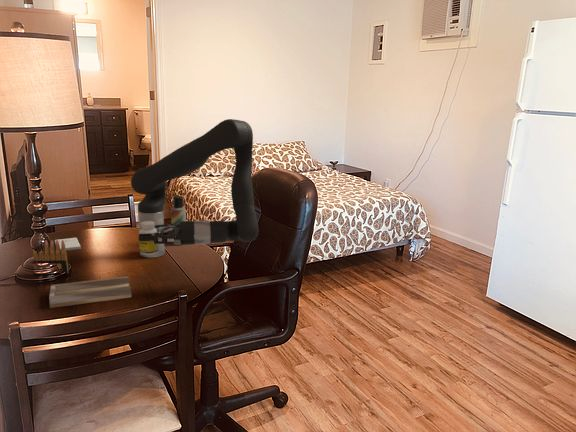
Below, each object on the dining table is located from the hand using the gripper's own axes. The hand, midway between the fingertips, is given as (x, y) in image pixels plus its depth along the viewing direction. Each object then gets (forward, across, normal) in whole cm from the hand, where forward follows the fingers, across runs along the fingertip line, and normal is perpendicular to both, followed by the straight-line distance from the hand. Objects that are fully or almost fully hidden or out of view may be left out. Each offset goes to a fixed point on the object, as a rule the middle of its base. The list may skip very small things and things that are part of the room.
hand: (139, 234), depth 140 cm
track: (+14, +4, +18) cm, 23 cm away
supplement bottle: (-3, 0, +6) cm, 7 cm away
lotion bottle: (-12, -43, +18) cm, 48 cm away
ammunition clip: (+30, -16, +18) cm, 38 cm away
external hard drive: (+31, -46, +18) cm, 58 cm away
